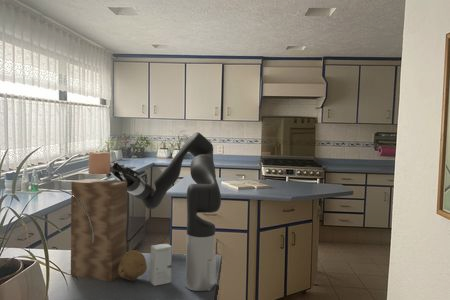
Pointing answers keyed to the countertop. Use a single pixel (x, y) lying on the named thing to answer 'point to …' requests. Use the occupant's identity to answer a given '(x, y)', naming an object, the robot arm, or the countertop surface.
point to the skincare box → (160, 264)
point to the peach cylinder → (100, 163)
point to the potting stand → (98, 228)
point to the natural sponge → (132, 265)
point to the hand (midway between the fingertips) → (110, 164)
